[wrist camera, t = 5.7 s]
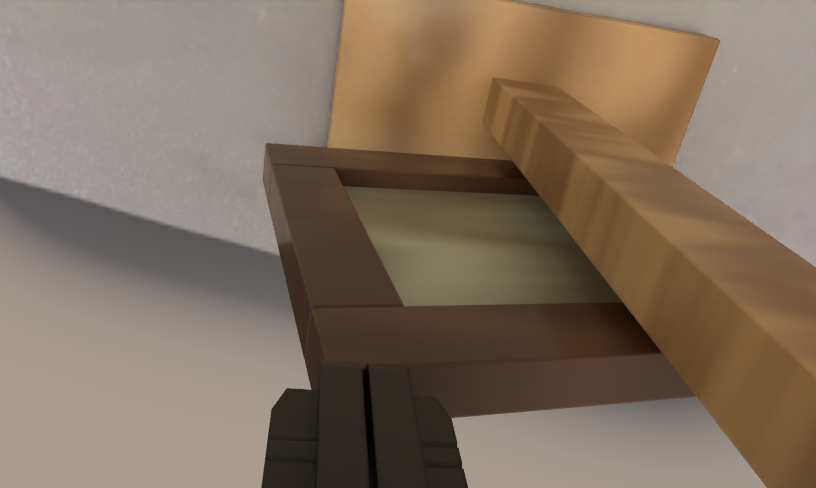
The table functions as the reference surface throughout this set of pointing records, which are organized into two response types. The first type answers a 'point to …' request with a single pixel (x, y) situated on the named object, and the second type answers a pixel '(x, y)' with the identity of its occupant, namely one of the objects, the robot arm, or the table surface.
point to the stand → (603, 185)
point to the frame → (452, 283)
